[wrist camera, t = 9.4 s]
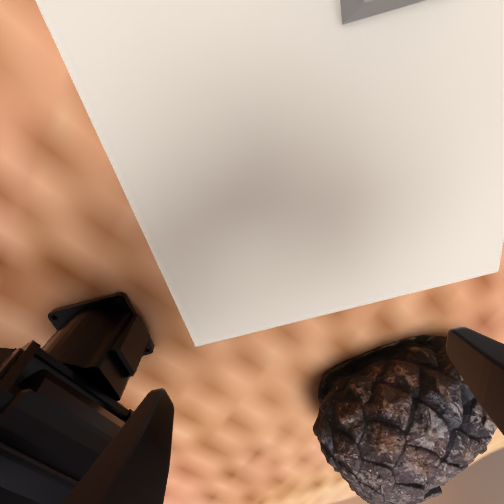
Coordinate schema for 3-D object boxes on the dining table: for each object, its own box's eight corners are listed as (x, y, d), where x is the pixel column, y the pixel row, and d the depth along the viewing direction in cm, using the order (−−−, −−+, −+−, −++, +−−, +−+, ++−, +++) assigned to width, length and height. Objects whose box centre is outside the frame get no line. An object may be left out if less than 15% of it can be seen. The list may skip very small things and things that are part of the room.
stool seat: (198, 330, 24) (191, 371, 20) (33, -44, 13) (-56, -124, 9) (476, 260, 23) (530, 288, 19) (537, -204, 12) (691, -373, 8)
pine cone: (479, 357, 28) (599, 466, 19) (331, 427, 31) (373, 549, 22) (451, 290, 24) (587, 387, 15) (286, 379, 27) (313, 503, 18)
